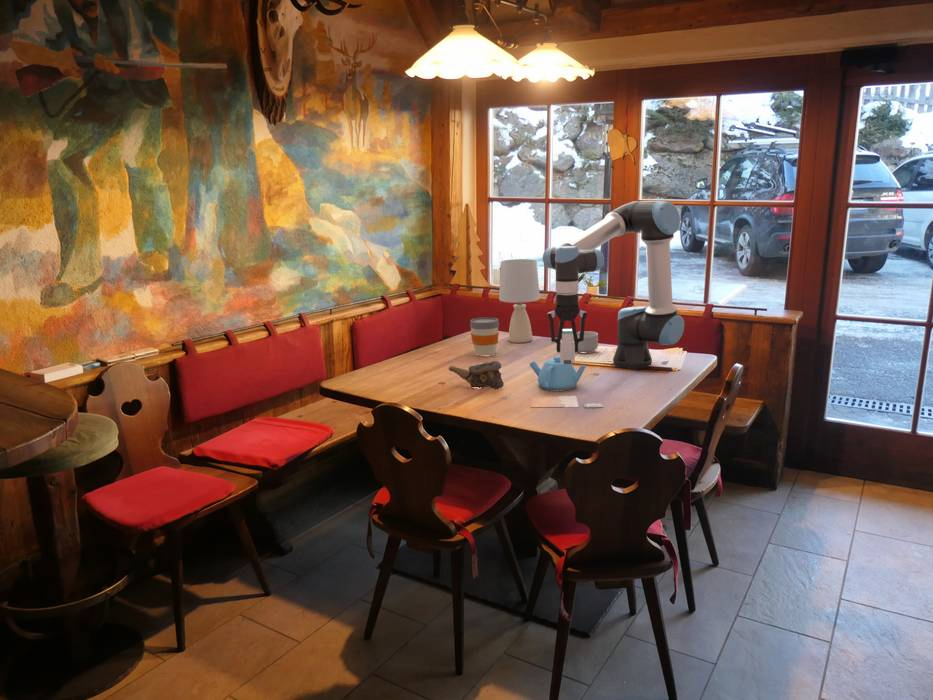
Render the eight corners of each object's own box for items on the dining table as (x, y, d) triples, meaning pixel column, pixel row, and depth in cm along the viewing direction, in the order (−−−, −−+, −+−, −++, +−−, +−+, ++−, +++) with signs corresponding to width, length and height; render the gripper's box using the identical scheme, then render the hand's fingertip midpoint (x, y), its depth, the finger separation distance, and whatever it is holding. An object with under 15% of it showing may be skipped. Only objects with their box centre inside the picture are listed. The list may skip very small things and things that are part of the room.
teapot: (565, 377, 289) (565, 349, 286) (587, 389, 273) (587, 359, 270) (528, 382, 284) (527, 353, 281) (548, 395, 268) (547, 364, 265)
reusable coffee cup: (468, 357, 326) (466, 322, 323) (474, 350, 338) (473, 317, 335) (497, 357, 324) (496, 323, 320) (502, 350, 336) (501, 317, 332)
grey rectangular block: (572, 361, 260) (572, 328, 257) (572, 364, 256) (572, 330, 254) (561, 361, 260) (561, 329, 258) (562, 364, 257) (562, 331, 254)
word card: (601, 404, 255) (601, 403, 255) (603, 407, 251) (603, 406, 251) (583, 404, 255) (583, 403, 255) (584, 408, 251) (584, 407, 251)
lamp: (529, 346, 342) (528, 264, 333) (493, 343, 351) (490, 263, 342) (547, 337, 357) (545, 259, 349) (511, 335, 366) (509, 258, 358)
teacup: (599, 354, 322) (599, 335, 321) (574, 355, 323) (574, 336, 321) (594, 346, 336) (594, 329, 334) (570, 347, 336) (570, 330, 334)
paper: (576, 396, 264) (576, 396, 264) (578, 407, 252) (578, 406, 252) (529, 397, 265) (529, 396, 265) (530, 407, 254) (530, 407, 254)
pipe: (500, 392, 273) (499, 365, 271) (443, 389, 280) (442, 363, 277) (506, 385, 282) (506, 359, 279) (451, 382, 288) (450, 357, 286)
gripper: (591, 290, 256) (590, 358, 261) (541, 292, 257) (542, 359, 263) (593, 294, 249) (592, 363, 254) (542, 295, 250) (543, 364, 255)
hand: (567, 361), depth 258 cm, fingers closed on grey rectangular block, 3 cm apart
